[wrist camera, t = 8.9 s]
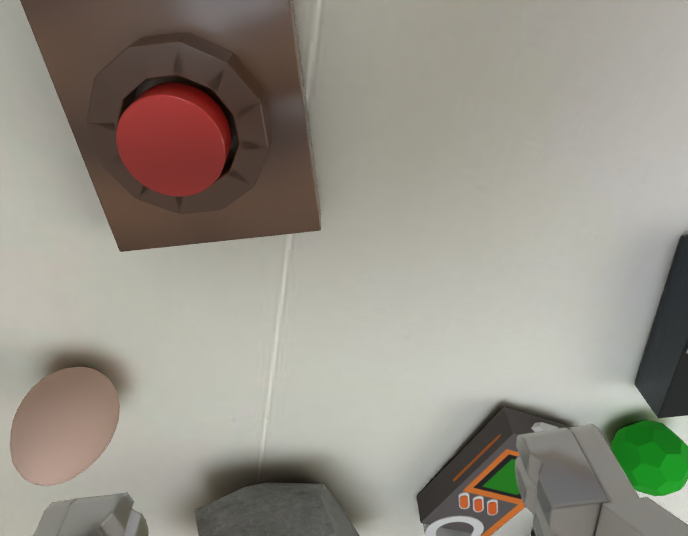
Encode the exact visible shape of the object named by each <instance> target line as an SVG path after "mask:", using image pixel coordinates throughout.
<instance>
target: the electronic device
mask: <svg viewBox="0 0 688 536" xmlns="http://www.w3.org/2000/svg"><path fill="white" fill-rule="evenodd" d="M564 427H566V428H570V427H571V426H567V425H564V424H561V423H557V422H554V421H550V420H547V419H544V418H540V417H537V416H534V415H530V414H527V413H524V412H520V411H517V410H513V409H510V408H507V407H503V408H502V409H501V410H500V411H499V413H498V414H497V415H496V416H495V417H494V418H493V419H492V420H491V421H490V422H489V423H488V424H487V425H486V426H485V427H484V428H483V429H482V430H481V431H480V432H479V433H478V434H477V435H476V436H475V437H474V438H473V439H472V440H471V441H470V442H469V443H468V444H467V445H466V446H465V447H464V448H463V450H462V451H461V452H460V453H459V454H458V455H457V456H456V457H455V458H454V459H453V460H452V461H451V462H450V463H449V464H448V465H447V466H446V467H445V468H444V469H443V470H442V471H441V472H440V473H439V474H438V475H437V476H436V477H435V478H434V479H433V480H432V481H431V482H430V483H429V484H428V485H427V486H426V488H425V489H424V490H423V491H422V492H421V493H420V494H419V495H418V496H417V501H418V508H419V514H420V521H421V523H423V524H424V531H425V536H490V535H492V534H493V533H494V532H495V531H496V530H498V529H499V528H500V527H501V526H503V525H504V524H505V523H506V522H507V521H509V520H510V519H511V518H512V517H514V516H515V515H516V514H517V513H518V512H520V511H521V510H522V509H523V508H525V506H524V503H523V500H522V498H521V495H520V492H519V488H518V485H517V480H516V473H515V459H516V458H517V457H518V456H519V452H518V450H517V447H516V440H517V437H518V435H521V434H527V433H533V432H539V431H545V430H551V429H557V428H564Z"/></svg>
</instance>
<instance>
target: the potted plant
mask: <svg viewBox="0 0 688 536" xmlns="http://www.w3.org/2000/svg"><path fill="white" fill-rule="evenodd" d="M195 515H196V521H197V528H198V534H199V536H359V534H358V533H357V531H356V529H355V528H354V526H353V525H352V523H351V521H350V520H349V518H348V516H347V515H346V513H345V512H344V510H343V509H342V508H341V506H340V505H339V503H338V502H337V501H336V499H335V498H334V497H333V495H332V494H331V492H330V491H329V490H328V488H327V487H326V486H325V485H324V484H310V483H268V482H266V483H261V484H256V485H251V486H246V487H243V488H241V489H239V490H237V491H235V492H233V493H230V494H228V495H226V496H224V497H222V498H220V499H218V500H216V501H214V502H212V503H210V504H208V505H206V506H204V507H202V508H200V509H197V510H195Z"/></svg>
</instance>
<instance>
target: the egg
mask: <svg viewBox="0 0 688 536" xmlns="http://www.w3.org/2000/svg"><path fill="white" fill-rule="evenodd" d="M119 409H120V405H119V398H118V395H117V392H116V389H115V388H114V386H113V384H112V383H111V381H110V380H109V379H108V378H107V377H106V376H105V375H104V374H102V373H101V372H99V371H97V370H95V369H92V368H87V367H72V368H65V369H62V370H59V371H56V372H54V373H52V374H50V375H48V376H47V377H45V378H43V379H42V380H41V381H39V382H38V383H37V384H36V385H35V386H34V387H33V388H31V390H30V391H29V392H28V393H27V395H26V396H25V397H24V399H23V400H22V402H21V404H20V406H19V408H18V409H17V412H16V414H15V417H14V419H13V423H12V428H11V437H10V450H11V457H12V462H13V464H14V466H15V468H16V470H17V471H18V472H19V473H20V475H21V476H22V477H23V478H24V479H25V480H27V481H29V482H31V483H33V484H36V485H42V486H51V485H56V484H61V483H64V482H66V481H69V480H71V479H73V478H74V477H76V476H77V475H79V474H80V473H82V472H83V471H84V470H86V469H87V468H88V467H89V466H90V465H92V464H93V463H94V462H95V461H96V460H97V459H98V457H99V456H100V455H101V454H102V453H103V452H104V450H105V449H106V447H107V446H108V444H109V443H110V441H111V439H112V437H113V434H114V432H115V430H116V427H117V423H118V420H119Z"/></svg>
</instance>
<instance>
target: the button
mask: <svg viewBox="0 0 688 536" xmlns="http://www.w3.org/2000/svg"><path fill="white" fill-rule="evenodd" d="M116 142H117V148H118V152H119V155H120V157H121V160H122V162H123V163H124V165H125V167H126V168H127V170H128V171H129V172H130V173H131V174H132V176H133V177H134V178H135V179H137V180H138V181H139V182H140V183H141V184H143V185H144V186H146V187H148V188H149V189H151V190H153V191H156V192H158V193H161V194H164V195H169V196H189V195H194V194H197V193H200V192H202V191H204V190H206V189H207V188H209V187H210V186H211V185H212V184H213V183H214V182H215V181H216V180H217V179H218V177H219V176H220V174H221V172H222V170H223V167H224V165H225V162H226V159H227V157H228V154H229V151H230V147H231V131H230V126H229V123H228V120H227V118H226V116H225V114H224V112H223V110H222V109H221V108H220V106H219V105H218V104H217V103H216V102H215V101H214V100H213V99H212V98H211V97H210V96H209V95H208V94H206V93H205V92H203V91H201V90H200V89H198V88H195V87H193V86H190V85H187V84H183V83H175V82H171V83H162V84H158V85H155V86H153V87H151V88H149V89H147V90H146V91H144V92H143V93H142V94H141V95H140V96H139V97H138V98H137V99H136V100H135V101H134V102H133V103H132V104H131V105H130V106H129V107H128V108H127V109H126V110H125V111H124V113H123V114H122V116H121V118H120V120H119V123H118V126H117V131H116Z"/></svg>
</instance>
